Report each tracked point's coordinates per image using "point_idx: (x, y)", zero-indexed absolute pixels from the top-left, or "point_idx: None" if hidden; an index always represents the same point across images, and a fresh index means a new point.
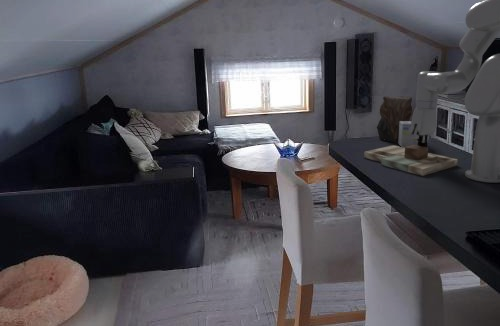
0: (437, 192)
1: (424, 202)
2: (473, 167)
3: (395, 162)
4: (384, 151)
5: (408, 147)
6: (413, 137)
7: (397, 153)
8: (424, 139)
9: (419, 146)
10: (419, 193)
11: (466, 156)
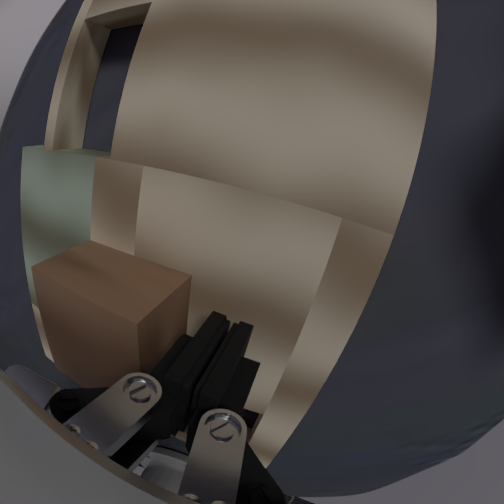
0: (32, 370)
1: (4, 348)
2: (143, 476)
3: (24, 236)
4: (148, 30)
5: (40, 294)
6: (12, 369)
7: (144, 141)
8: (140, 452)
9: (120, 372)
10: (10, 340)
11: (464, 432)
